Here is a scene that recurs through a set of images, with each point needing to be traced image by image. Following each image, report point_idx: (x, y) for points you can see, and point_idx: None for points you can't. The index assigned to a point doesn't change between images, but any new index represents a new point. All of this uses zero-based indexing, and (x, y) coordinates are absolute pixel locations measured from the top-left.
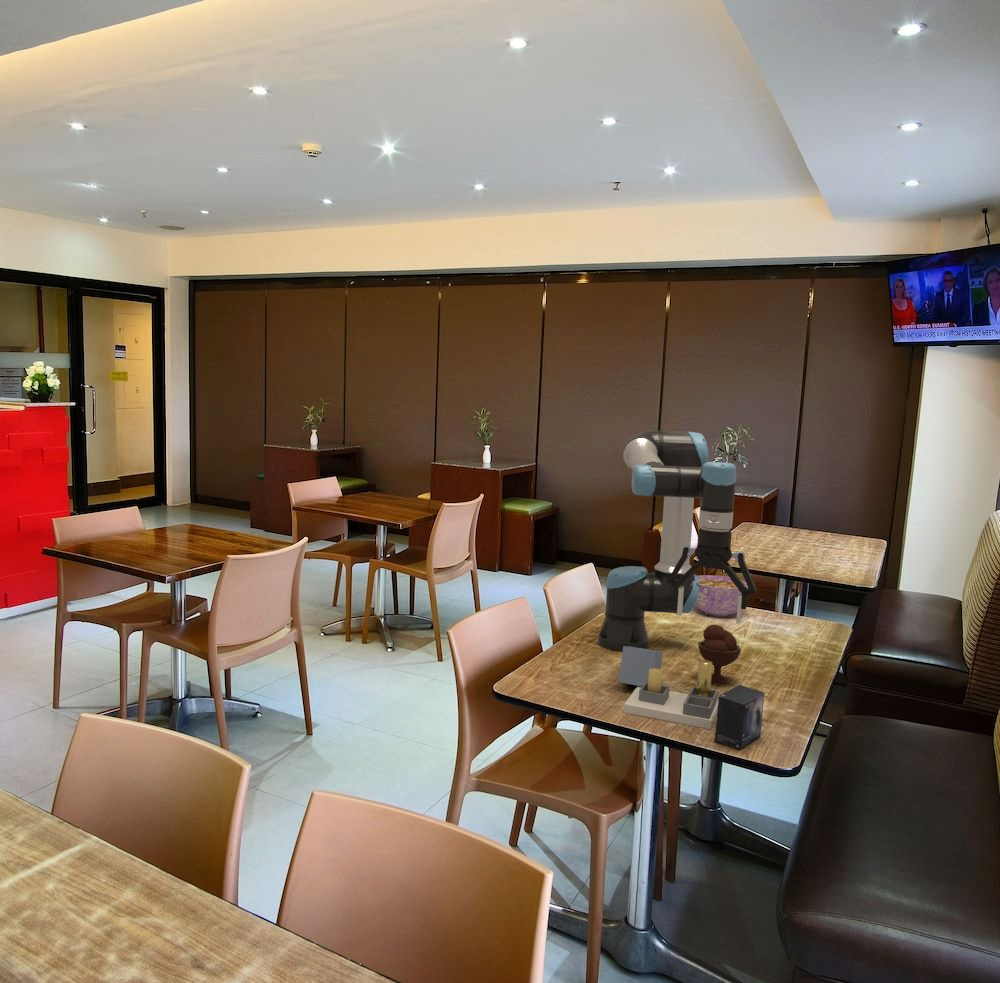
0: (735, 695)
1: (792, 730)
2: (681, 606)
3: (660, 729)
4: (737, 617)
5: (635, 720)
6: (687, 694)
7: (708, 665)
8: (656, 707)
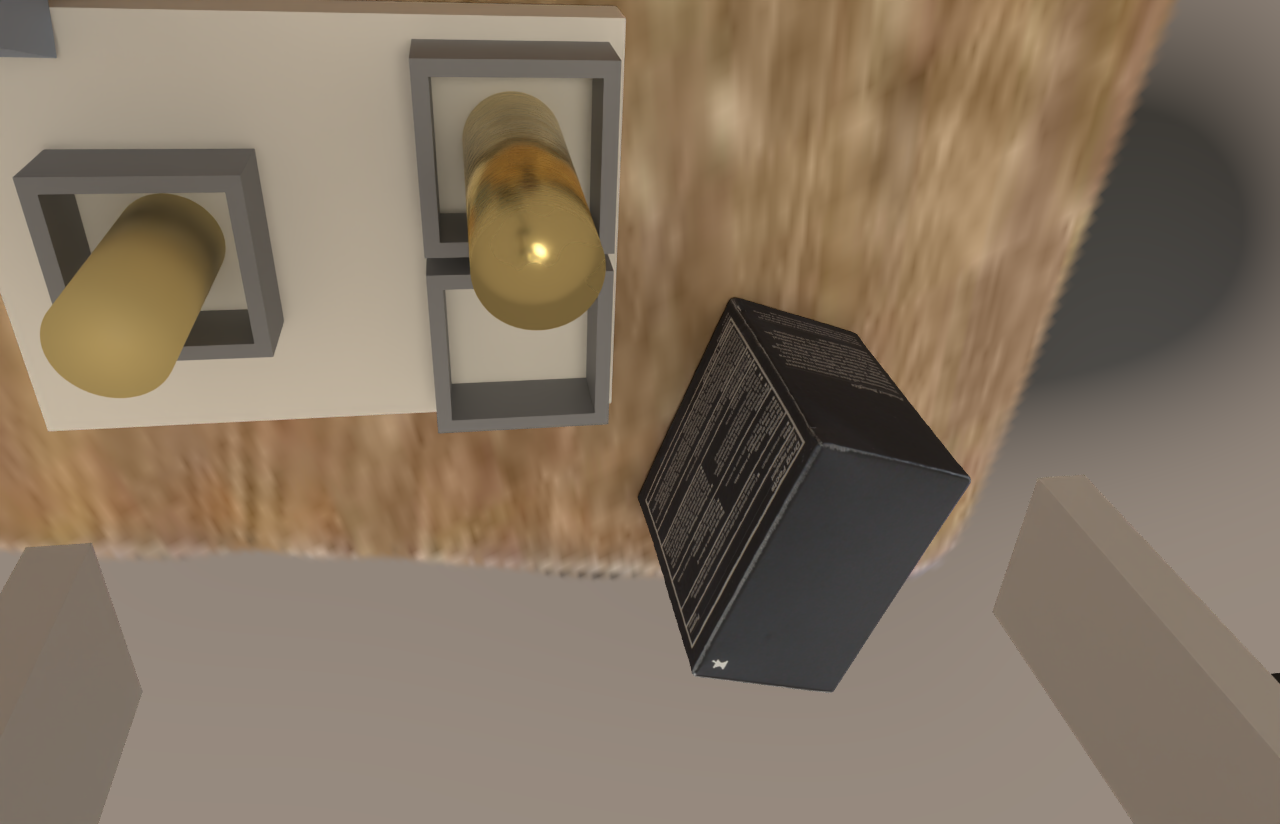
0: (788, 630)
1: (1043, 166)
2: (78, 758)
3: (358, 500)
4: (1047, 674)
5: (189, 465)
6: (368, 21)
7: (575, 314)
8: (257, 380)
